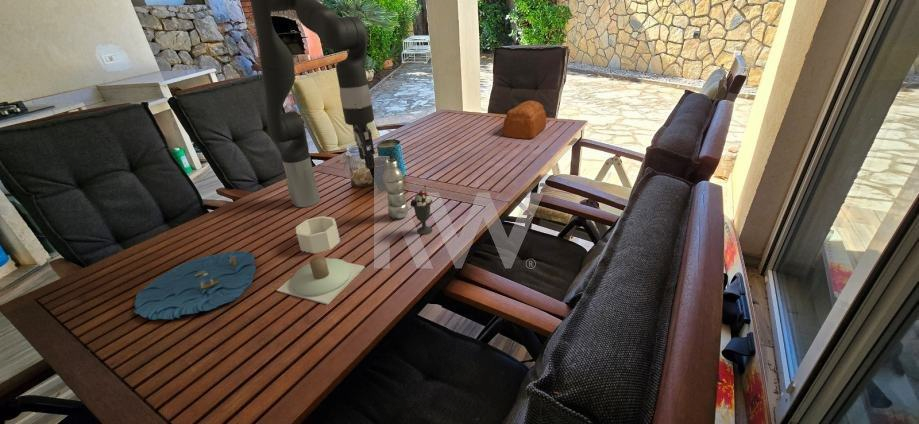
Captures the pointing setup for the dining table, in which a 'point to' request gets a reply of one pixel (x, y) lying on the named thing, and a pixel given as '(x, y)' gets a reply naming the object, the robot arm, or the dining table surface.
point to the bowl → (317, 234)
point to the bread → (525, 120)
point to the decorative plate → (197, 286)
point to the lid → (321, 276)
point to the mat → (324, 298)
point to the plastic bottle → (395, 190)
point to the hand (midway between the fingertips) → (367, 163)
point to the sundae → (422, 211)
